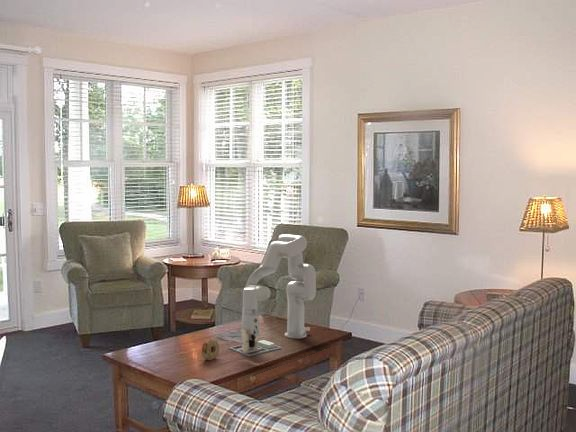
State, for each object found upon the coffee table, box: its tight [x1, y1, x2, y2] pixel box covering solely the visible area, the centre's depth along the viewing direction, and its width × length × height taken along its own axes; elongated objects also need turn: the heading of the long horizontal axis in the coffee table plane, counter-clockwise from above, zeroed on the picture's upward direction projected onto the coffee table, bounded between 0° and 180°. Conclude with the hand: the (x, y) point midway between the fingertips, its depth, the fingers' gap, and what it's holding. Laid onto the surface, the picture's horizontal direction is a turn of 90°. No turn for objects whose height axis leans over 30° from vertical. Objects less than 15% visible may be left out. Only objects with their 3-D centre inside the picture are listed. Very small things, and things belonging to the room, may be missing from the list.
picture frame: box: [215, 329, 264, 344], centre depth 352 cm, size 16×2×22 cm
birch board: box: [241, 329, 259, 352], centre depth 326 cm, size 8×3×12 cm, turn 131°
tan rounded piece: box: [201, 338, 220, 361], centre depth 314 cm, size 10×4×10 cm, turn 143°
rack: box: [228, 339, 283, 358], centre depth 329 cm, size 22×17×2 cm
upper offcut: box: [258, 339, 276, 350], centre depth 334 cm, size 4×9×2 cm, turn 43°
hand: (249, 345), depth 326 cm, fingers closed on birch board, 3 cm apart
